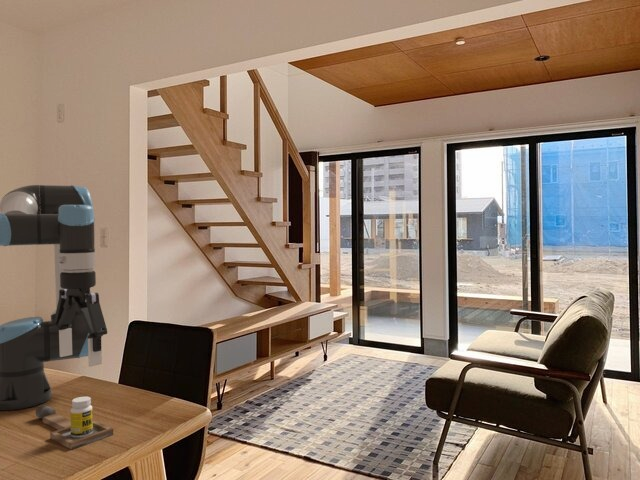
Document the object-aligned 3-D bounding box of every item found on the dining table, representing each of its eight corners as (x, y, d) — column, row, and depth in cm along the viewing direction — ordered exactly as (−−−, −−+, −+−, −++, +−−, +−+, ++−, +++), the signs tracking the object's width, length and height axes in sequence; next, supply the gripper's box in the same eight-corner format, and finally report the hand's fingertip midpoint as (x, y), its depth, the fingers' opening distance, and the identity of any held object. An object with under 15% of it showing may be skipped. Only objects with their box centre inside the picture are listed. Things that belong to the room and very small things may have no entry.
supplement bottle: (84, 439, 116) (83, 403, 115) (66, 437, 117) (65, 402, 116) (97, 430, 120) (96, 396, 120) (80, 429, 121) (79, 395, 121)
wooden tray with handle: (21, 423, 127) (21, 410, 127) (61, 411, 135) (61, 399, 135) (71, 449, 111) (71, 435, 111) (113, 434, 119) (113, 421, 119)
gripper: (36, 269, 122) (39, 355, 123) (89, 275, 107) (92, 373, 107) (67, 266, 128) (69, 349, 129) (122, 272, 113) (124, 365, 113)
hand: (80, 360), depth 118 cm, fingers open, 13 cm apart
